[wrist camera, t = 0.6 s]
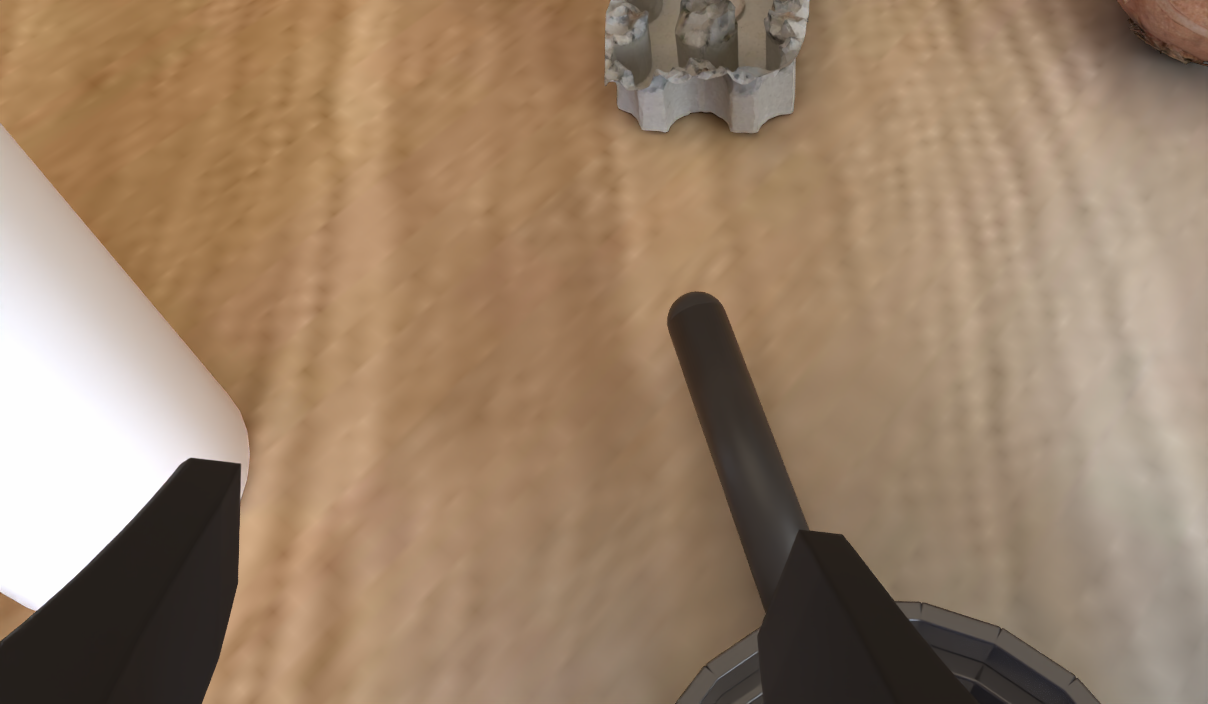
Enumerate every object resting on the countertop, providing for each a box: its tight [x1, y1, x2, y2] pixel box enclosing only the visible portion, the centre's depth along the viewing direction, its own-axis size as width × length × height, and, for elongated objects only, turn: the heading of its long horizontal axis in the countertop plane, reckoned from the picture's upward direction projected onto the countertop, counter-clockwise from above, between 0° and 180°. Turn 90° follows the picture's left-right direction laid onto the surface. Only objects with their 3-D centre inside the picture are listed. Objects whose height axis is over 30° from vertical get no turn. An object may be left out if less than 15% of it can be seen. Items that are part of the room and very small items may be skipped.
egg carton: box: [605, 0, 809, 133], centre depth 42 cm, size 11×8×4 cm
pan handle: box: [667, 292, 809, 613], centre depth 31 cm, size 11×2×2 cm, turn 14°
